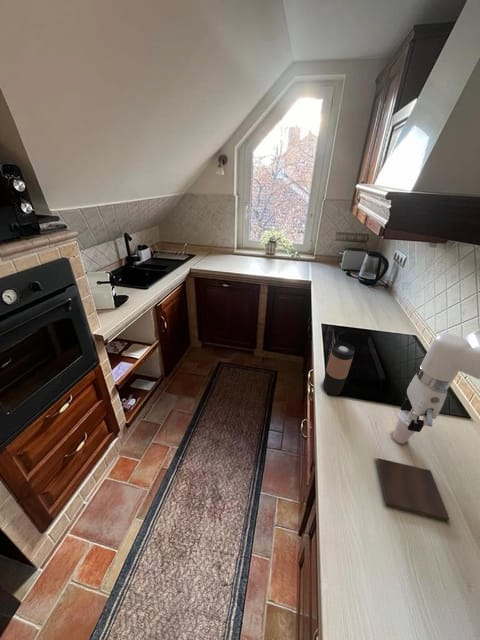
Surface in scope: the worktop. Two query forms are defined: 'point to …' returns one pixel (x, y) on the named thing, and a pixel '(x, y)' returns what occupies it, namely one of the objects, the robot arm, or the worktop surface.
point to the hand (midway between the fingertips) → (409, 420)
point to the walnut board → (410, 489)
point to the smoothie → (403, 426)
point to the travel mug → (338, 367)
